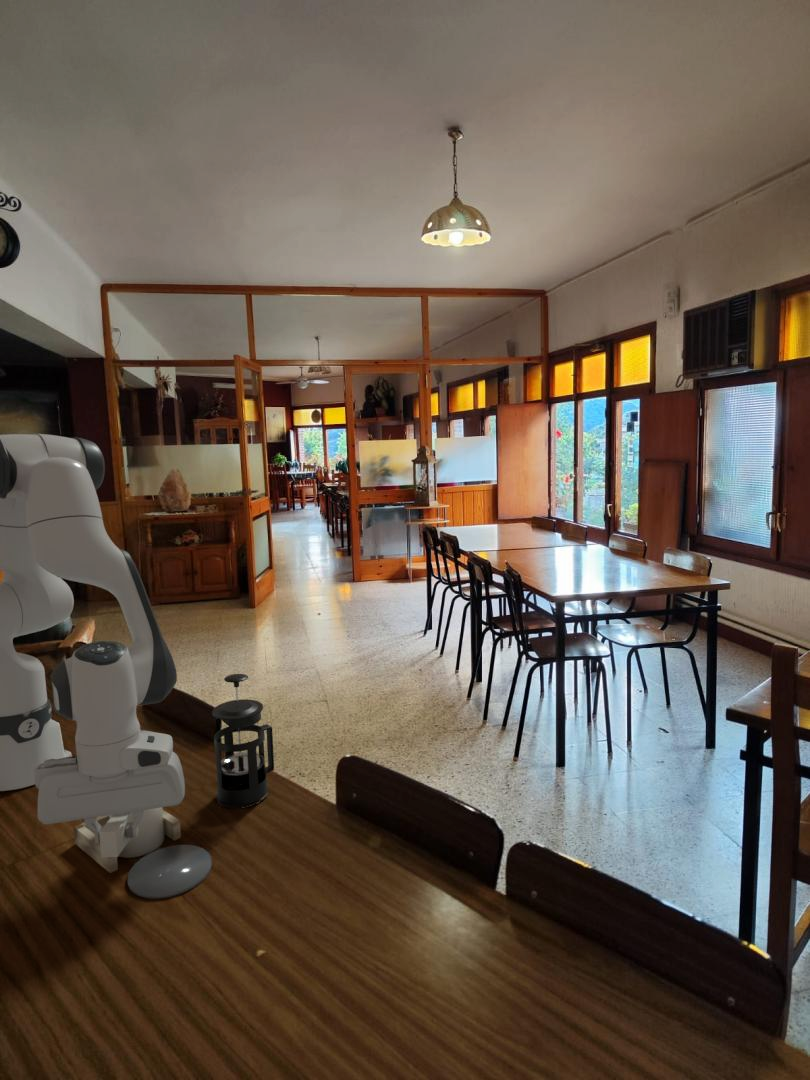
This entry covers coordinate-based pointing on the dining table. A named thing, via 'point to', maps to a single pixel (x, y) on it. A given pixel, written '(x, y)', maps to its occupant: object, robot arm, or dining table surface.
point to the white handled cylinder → (144, 843)
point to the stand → (88, 845)
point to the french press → (241, 765)
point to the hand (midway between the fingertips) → (117, 838)
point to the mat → (169, 871)
